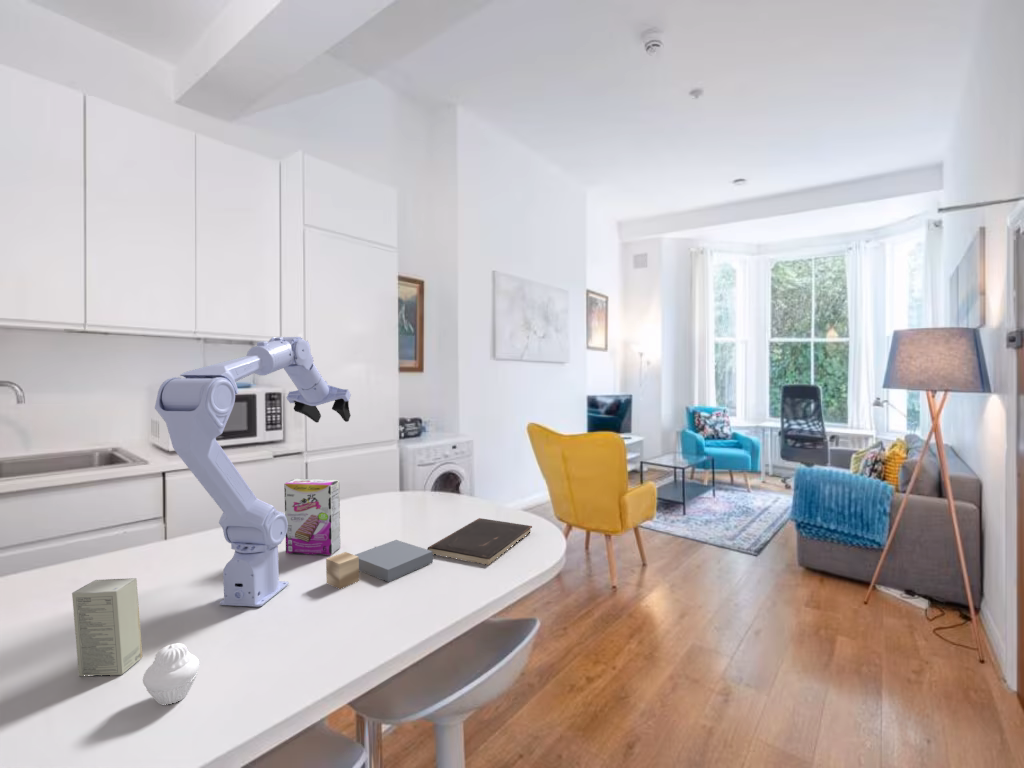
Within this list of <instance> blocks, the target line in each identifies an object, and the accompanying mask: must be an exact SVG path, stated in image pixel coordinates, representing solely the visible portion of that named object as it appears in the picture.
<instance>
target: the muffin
mask: <svg viewBox="0 0 1024 768" xmlns="http://www.w3.org/2000/svg"><path fill="white" fill-rule="evenodd" d="M199 669H200V659H199V658H198V657H197V656H196V655H195V654H193V653H191V652H190V651H189V650H188V647H187V646H186V645H185V644H184V643H179V642H178V643H177V642H176V643H172V644H168V645H164V647H162V648H160V649H159V651H158V652H157V653H156V654H155V657H154V660H153V661H152V664H150V665H149V666H148V668H147V669H146V670H145V671H144V674H143V677H142V683H143V686H144V687H145V689H146V691H147V692H148V694H149V695H150V696H151V697H152V698H153V699H154V701H156V702H157V704H159V703H160V704H164V705H163V706H169V705H168V704H171V705H173V704H172V703H174V704H177V703H178V701H179V702H180V701H183V699H185V698H186V697H187V695H189V692H190V690H191V688H192V685H193V684H194V681H195V680H196V678H197V675H198V671H199ZM176 702H177V703H176ZM160 704H159V705H160ZM165 704H167V705H165Z"/></svg>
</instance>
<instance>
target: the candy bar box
mask: <svg viewBox="0 0 1024 768" xmlns="http://www.w3.org/2000/svg"><path fill="white" fill-rule="evenodd" d="M283 491H284V514H285V516H286V518H287V522H288V529H287V533H286V536H285V554H292V555H293V554H294V555H316V556H333V555H334V554H335V553H336V552H337V551H338V550H340V548H341V515H340V514H341V513H340V511H341V510H340V509H341V508H340V506H341V504H340V480H338V479H317V478H315V479H312V478H293V479H291V480H289V481H286V482H285V483H284V490H283Z"/></svg>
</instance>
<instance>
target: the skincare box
mask: <svg viewBox="0 0 1024 768" xmlns="http://www.w3.org/2000/svg"><path fill="white" fill-rule="evenodd" d="M71 596H72V607H73V608H72V611H73V620H74V631H75V632H74V634H75V645H76V646H75V648H76V656H77V657H76V658H77V660H76V661H77V668H78V669H77V670H78V671H77V672H78V677H89V676H88V675H101V676H100V677H102V675H110V676H121V675H124V674H125V672H127V671H128V670H129V669H130V668H132V666H135V664H137V663H138V661H140V660H141V659H142V658H143V648H142V647H143V646H142V634H141V633H142V632H141V619H140V617H141V616H140V606H139V605H140V604H139V594H138V580H137V578H136V577H134V578H133V577H132V578H131V577H130V578H111V579H109V578H108V579H106V578H105V579H95V580H93V581H91V582H89V583H87V584H85V585H84V586H82V587H80V588H78V589H76V590H75V591H73V592H72V593H71ZM84 675H85V676H84Z"/></svg>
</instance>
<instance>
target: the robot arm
mask: <svg viewBox="0 0 1024 768" xmlns="http://www.w3.org/2000/svg"><path fill="white" fill-rule="evenodd" d="M282 369H283V370H284V371H285V373H286V374H287V375H288V377H289V379H290V380H291V382H292V384H293V385H294V386H295V387H296V389H297V390H293V391H292V390H291V391H289V392H288V393H287V396H286V400H287V401H288V402H289V404H294V406H293V410H294V412H297V413H299V414H302V415H304V416H305V417H308V418H309V419H310V420H312V421H313V422H314V423H319V421H320V420H321V417H322V415H321V413H320V411H319V409H318V407H317V406H320V405H325V404H327V403H330V402H333V401H334V403H333V404H332V408H331V409H332V411H335V412H336V413H337V414H338V415H339V416H340V417H341V419H342V420H343V421H344V422H347V423H348V422H349V421H350V418H351V412H350V406H349V405H350V404H349V403H350V402H349V401H350V399H351V397H352V394H351V391H350V390H349V389H344V388H340V387H336V386H333V385H329V384H328V381H327V380H325V379H324V378H323V376H322V374H321V372H320V371H319V370H318V368H317V366H316V364H315V363H314V357H313V355H312V353H311V345H310V342H309V341H308V340H305V339H303V337H301V336H277V337H273V336H272V337H271V338H270V339H269V340H268V341H267V340H262V341H261V340H260V341H257V342H256V346H255V345H254V346H252V347H251V348H249V350H248V351H247V353H246V354H245V356H242V357H241V356H240V357H238V358H234V359H229V360H226V361H222V362H218V363H214V364H210V365H206V366H203V367H202V366H201V367H199V368H194V369H192V370H189V371H185V372H183V373H180V374H179V376H180V377H176V376H175V377H170V378H167V379H166V380H164V381H163V382H162V383H161V385H160V386H159V389H158V391H157V396H156V401H155V405H154V410H155V411H156V412H157V413H158V415H159V416H160V417H161V419H162V420H163V421H164V422H165V424H166V427H167V431H168V435H169V438H170V441H171V446H172V448H173V450H174V452H175V453H176V454H177V455H178V457H179V458H180V459H181V461H182V462H183V463H184V465H186V467H187V468H188V470H189V471H190V473H192V474H193V476H194V477H195V478H196V479H197V481H198V482H199V483H200V484H201V486H202V487H203V488H204V490H205V491H206V492H207V493H208V494H209V497H211V499H213V502H215V504H216V505H217V506H218V507H219V509H220V510H221V511H222V514H221V516H220V518H219V521H218V524H219V525H220V527H221V528H222V531H223V532H222V533H223V537H224V539H225V541H226V542H227V543H228V544H230V549H231V550H234V553H233V556H232V558H231V559H230V560H229V561H227V563H226V564H225V566H224V568H223V573H222V576H223V578H222V579H223V599H222V600H221V601H219V605H220V606H234V607H235V606H237V607H255V608H256V607H258V608H259V607H262V606H263V605H265V604H266V603H267V602H268V601H270V600H271V599H272V598H273V597H274V596H276V595H277V594H279V592H281V591H282V590H283V589H285V588H286V587H287V586H289V584H290V583H289V581H285V580H284V581H282V580H280V575H279V545H281V544H282V542H283V540H284V539H286V533H287V529H288V522H287V518H286V516H285V512H283V511H279V510H277V509H276V508H275V506H274V505H272V504H270V503H267V502H265V501H264V500H261V499H259V498H257V496H256V494H255V493H254V492H253V490H252V489H251V488H250V486H249V484H248V483H247V482H246V480H245V479H244V478H243V476H242V475H241V473H240V472H239V471H238V469H237V468H236V466H235V465H234V463H233V462H232V460H231V459H230V457H229V456H228V455H227V453H226V451H225V450H224V449H223V448H222V446H221V445H220V444H219V442H218V440H217V437H219V436H221V435H222V434H223V432H224V430H225V427H226V425H227V422H229V421H228V420H229V418H230V416H231V413H232V411H233V409H234V405H235V401H236V395H237V394H239V389H238V385H237V383H236V382H238V381H240V380H242V379H244V378H247V377H249V376H251V375H253V374H255V375H257V376H267V375H270V374H273V373H274V372H277V371H279V370H282ZM182 377H183V378H182Z"/></svg>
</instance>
